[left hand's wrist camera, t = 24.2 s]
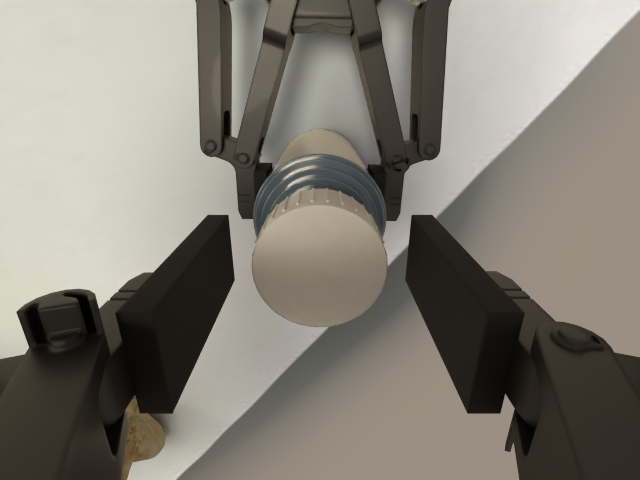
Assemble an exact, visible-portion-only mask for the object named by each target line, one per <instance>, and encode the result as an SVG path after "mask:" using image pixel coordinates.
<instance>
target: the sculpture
mask: <svg viewBox="0 0 640 480" xmlns="http://www.w3.org/2000/svg"><path fill="white" fill-rule="evenodd" d="M126 414H127V418H128V424H129V428H128V434H127V441H126V448H125V454H124V461H123V468H122V474H121V480H127V477H128V474H129V470H130V467H131V465H132V462H136V461H141V460H146V459H150V458H153V457H155V456H156V455H158V453H159V452H160V451H161V450H162V448H163V447H164V443H165V434H164V431H163V429H162V427H161V425H160V424H159V423H158V422H157V421H156V420H155V419H154V418H152V417H151V416H150V415H149V414H148V413H140V412H139V408H138V404H137V400H136V399H132V400H131V402H130V403H129V405H128V407H127V408H126Z"/></svg>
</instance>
